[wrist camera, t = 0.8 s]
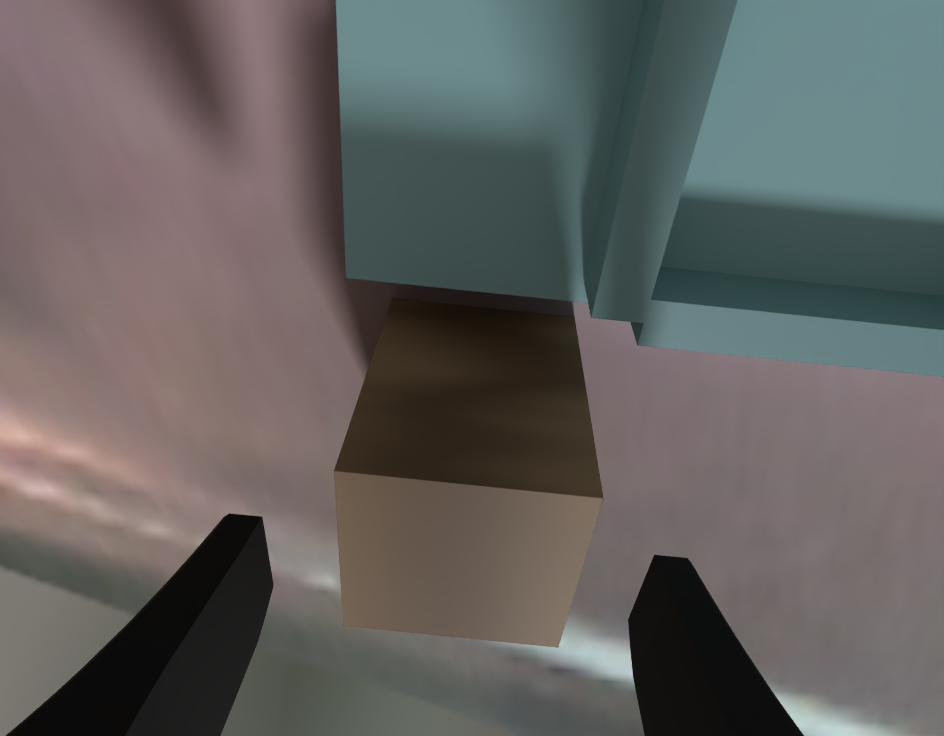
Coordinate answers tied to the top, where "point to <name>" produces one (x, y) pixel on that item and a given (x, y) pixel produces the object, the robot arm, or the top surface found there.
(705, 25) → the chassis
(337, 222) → the top surface
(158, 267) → the top surface
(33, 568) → the top surface
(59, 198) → the top surface
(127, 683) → the robot arm
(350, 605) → the brown wooden block
